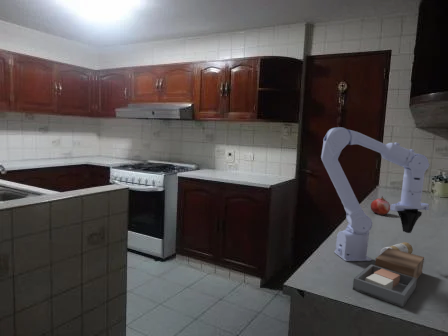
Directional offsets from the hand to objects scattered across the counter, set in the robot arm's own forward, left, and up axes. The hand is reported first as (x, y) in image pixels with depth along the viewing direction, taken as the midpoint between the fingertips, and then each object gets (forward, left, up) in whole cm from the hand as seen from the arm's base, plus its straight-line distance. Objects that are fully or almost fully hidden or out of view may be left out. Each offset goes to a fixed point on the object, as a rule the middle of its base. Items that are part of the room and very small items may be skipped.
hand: (406, 232), depth 107 cm
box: (-19, -17, -10) cm, 27 cm away
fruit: (+36, +64, -11) cm, 74 cm away
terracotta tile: (-17, -14, -10) cm, 24 cm away
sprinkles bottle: (+7, +7, -8) cm, 13 cm away
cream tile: (-21, -17, -7) cm, 28 cm away
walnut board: (-8, -8, -10) cm, 15 cm away
